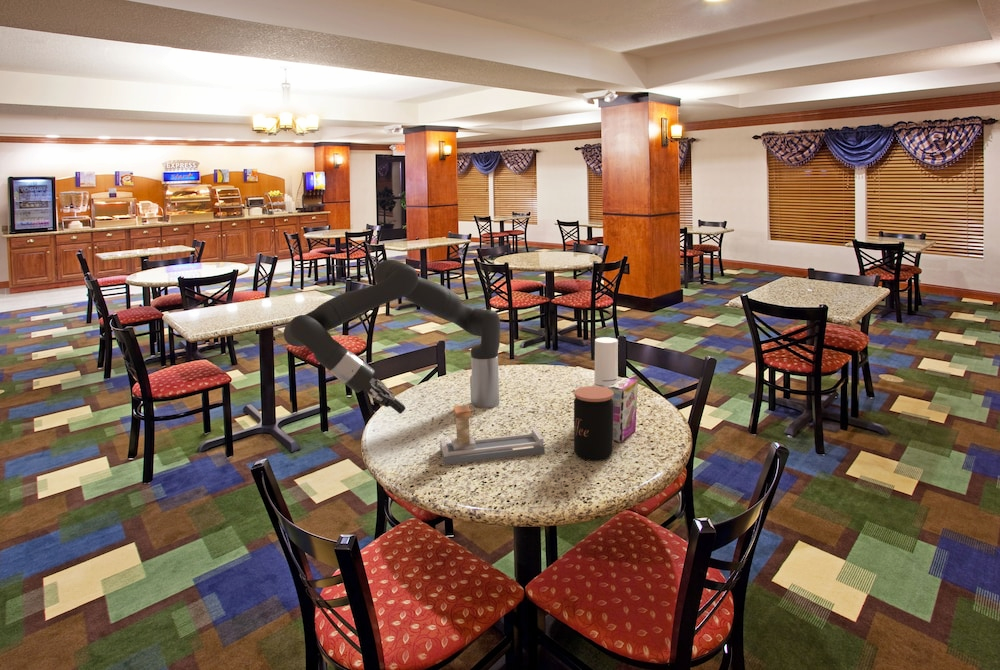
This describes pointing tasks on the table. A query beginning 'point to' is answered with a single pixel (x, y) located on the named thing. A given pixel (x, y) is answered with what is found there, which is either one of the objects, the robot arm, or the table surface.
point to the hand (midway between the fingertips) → (403, 410)
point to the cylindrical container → (605, 361)
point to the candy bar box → (624, 408)
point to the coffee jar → (593, 422)
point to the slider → (462, 429)
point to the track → (495, 448)
